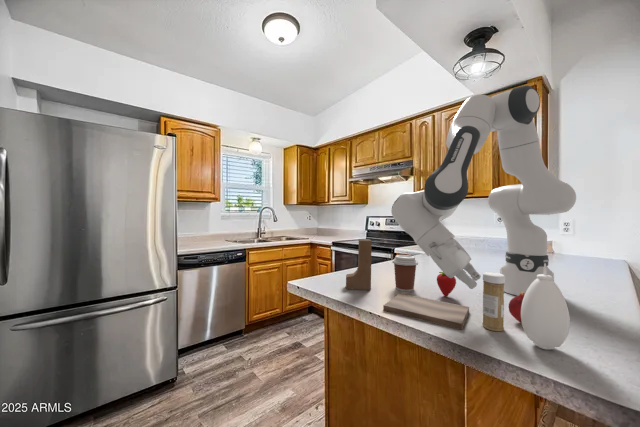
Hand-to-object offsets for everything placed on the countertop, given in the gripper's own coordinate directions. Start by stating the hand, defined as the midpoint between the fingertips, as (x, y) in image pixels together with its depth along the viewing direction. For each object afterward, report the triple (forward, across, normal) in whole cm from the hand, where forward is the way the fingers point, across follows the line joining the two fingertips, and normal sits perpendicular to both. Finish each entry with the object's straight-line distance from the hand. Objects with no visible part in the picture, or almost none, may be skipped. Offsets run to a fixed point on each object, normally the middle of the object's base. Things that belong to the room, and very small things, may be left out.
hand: (476, 282), depth 66 cm
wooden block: (-20, +9, +35) cm, 41 cm away
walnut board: (-1, +1, +16) cm, 16 cm away
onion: (+14, +8, +1) cm, 16 cm away
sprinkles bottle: (+10, 0, +5) cm, 11 cm away
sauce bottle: (+17, -4, -1) cm, 17 cm away
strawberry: (0, +19, +15) cm, 24 cm away
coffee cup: (-10, +19, +25) cm, 33 cm away
